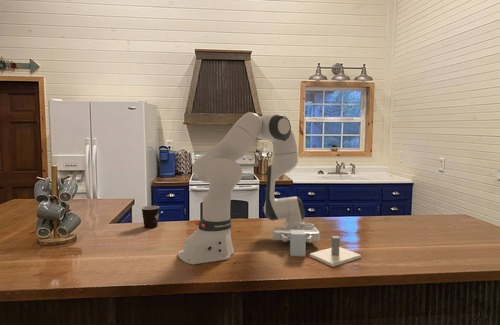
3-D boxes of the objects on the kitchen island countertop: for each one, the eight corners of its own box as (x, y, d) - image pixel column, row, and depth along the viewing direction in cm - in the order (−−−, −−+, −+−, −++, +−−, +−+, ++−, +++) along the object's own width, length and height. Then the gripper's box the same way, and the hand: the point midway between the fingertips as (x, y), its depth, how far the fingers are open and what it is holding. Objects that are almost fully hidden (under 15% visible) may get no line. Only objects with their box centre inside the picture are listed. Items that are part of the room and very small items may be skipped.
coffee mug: (149, 230, 168) (148, 210, 167) (138, 227, 173) (138, 207, 172) (167, 225, 177) (167, 206, 176) (157, 222, 182) (156, 203, 181)
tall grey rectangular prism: (290, 256, 136) (291, 234, 135) (289, 250, 141) (290, 229, 140) (305, 256, 135) (305, 234, 134) (303, 251, 141) (304, 230, 140)
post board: (332, 266, 125) (333, 245, 125) (309, 256, 135) (310, 236, 134) (360, 257, 134) (361, 237, 133) (337, 248, 144) (338, 229, 143)
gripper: (271, 222, 153) (271, 232, 140) (317, 224, 152) (322, 233, 139) (271, 236, 154) (271, 247, 140) (317, 237, 153) (321, 248, 139)
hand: (297, 240), depth 139 cm, fingers open, 8 cm apart
